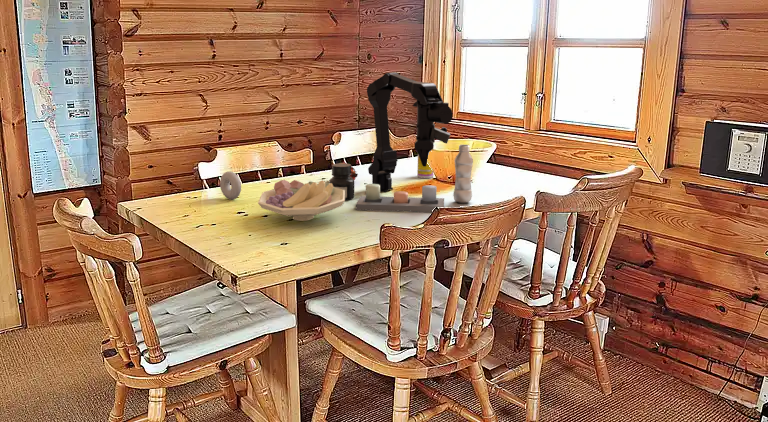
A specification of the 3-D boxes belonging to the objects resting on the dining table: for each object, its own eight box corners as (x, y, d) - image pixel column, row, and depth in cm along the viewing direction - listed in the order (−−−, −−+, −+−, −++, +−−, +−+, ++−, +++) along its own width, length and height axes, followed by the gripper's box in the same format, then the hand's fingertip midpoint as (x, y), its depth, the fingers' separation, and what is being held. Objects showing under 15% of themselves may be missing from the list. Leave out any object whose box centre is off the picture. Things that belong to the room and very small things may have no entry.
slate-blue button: (421, 201, 226) (421, 188, 225) (422, 197, 231) (422, 185, 230) (436, 201, 226) (436, 188, 225) (436, 198, 231) (436, 185, 229)
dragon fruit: (335, 183, 274) (354, 192, 266) (323, 173, 267) (342, 182, 259) (346, 165, 275) (366, 174, 267) (334, 155, 268) (354, 164, 260)
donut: (243, 200, 237) (242, 172, 235) (235, 202, 235) (234, 174, 232) (226, 196, 244) (225, 168, 241) (218, 197, 241) (217, 170, 239)
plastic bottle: (473, 201, 239) (475, 144, 234) (469, 205, 233) (471, 147, 228) (455, 199, 241) (457, 143, 236) (451, 203, 235) (452, 146, 230)
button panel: (355, 210, 226) (355, 204, 225) (360, 201, 237) (360, 195, 237) (443, 212, 223) (443, 206, 222) (444, 203, 234) (444, 198, 234)
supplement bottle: (434, 178, 276) (434, 147, 272) (417, 178, 276) (418, 147, 272) (433, 175, 282) (433, 144, 279) (417, 175, 282) (417, 144, 279)
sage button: (364, 199, 228) (364, 186, 227) (366, 196, 233) (366, 183, 232) (379, 199, 228) (379, 187, 227) (380, 196, 232) (380, 184, 231)
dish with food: (310, 235, 197) (309, 188, 193) (239, 221, 211) (237, 176, 207) (364, 215, 220) (364, 171, 216) (296, 203, 234) (295, 162, 230)
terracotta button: (393, 207, 228) (393, 194, 227) (394, 203, 233) (394, 191, 231) (407, 207, 227) (407, 194, 226) (408, 204, 232) (408, 191, 231)
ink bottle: (323, 198, 242) (322, 164, 239) (341, 194, 248) (341, 161, 245) (342, 202, 236) (342, 168, 233) (360, 198, 242) (360, 165, 239)
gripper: (449, 124, 221) (447, 172, 225) (449, 118, 239) (448, 162, 243) (414, 124, 222) (414, 171, 226) (417, 117, 240) (416, 161, 244)
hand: (424, 166), depth 235 cm, fingers closed
